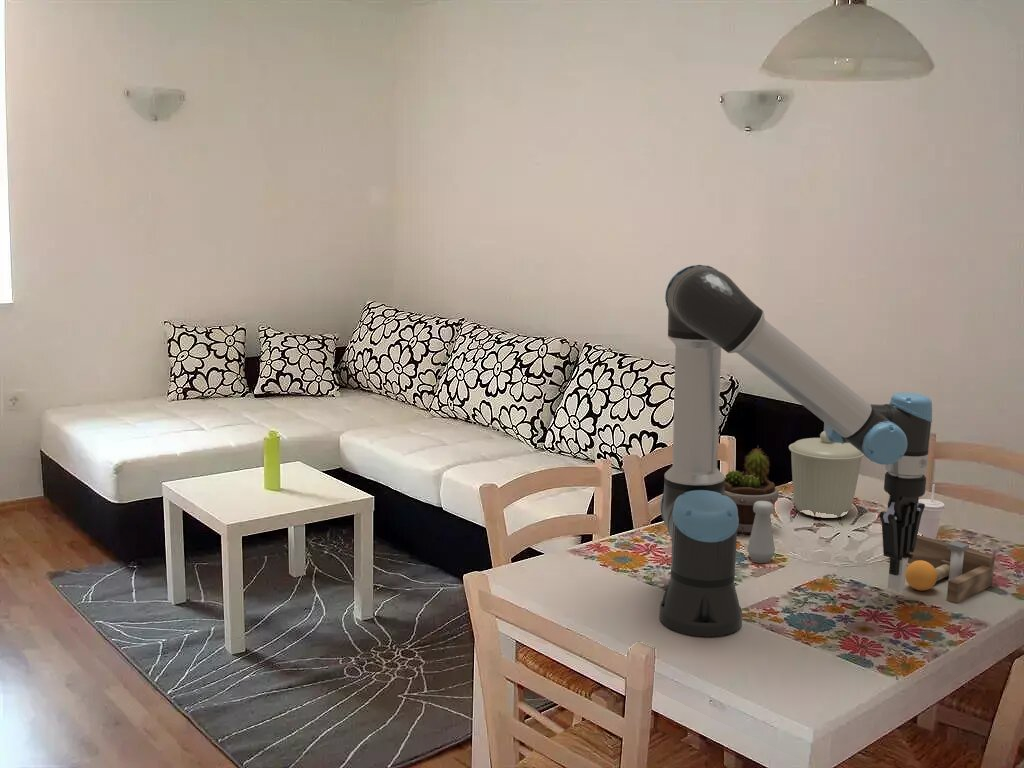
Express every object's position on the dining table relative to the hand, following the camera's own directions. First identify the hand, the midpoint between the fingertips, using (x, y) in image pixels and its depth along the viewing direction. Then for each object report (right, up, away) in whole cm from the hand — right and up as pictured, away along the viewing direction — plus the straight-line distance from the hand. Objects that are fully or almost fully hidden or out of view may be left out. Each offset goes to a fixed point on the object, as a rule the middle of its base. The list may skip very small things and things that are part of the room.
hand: (895, 588), depth 207 cm
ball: (+7, +2, +4) cm, 8 cm away
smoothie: (+19, +4, +33) cm, 38 cm away
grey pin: (+15, -1, +8) cm, 17 cm away
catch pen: (+11, 0, +10) cm, 15 cm away
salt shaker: (-22, +2, +21) cm, 30 cm away
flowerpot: (-21, +6, +41) cm, 46 cm away
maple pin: (+9, 0, +7) cm, 12 cm away
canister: (+2, +8, +55) cm, 55 cm away
